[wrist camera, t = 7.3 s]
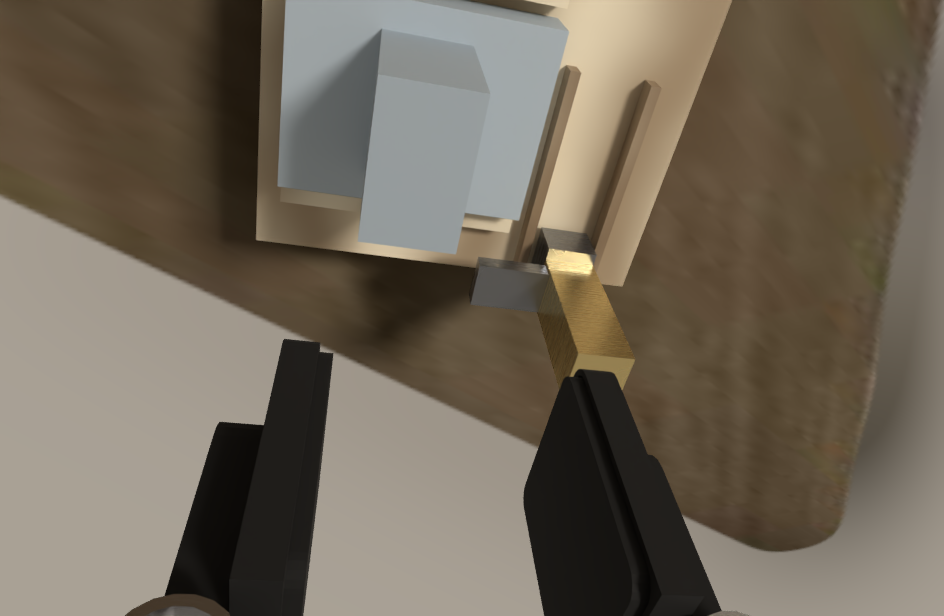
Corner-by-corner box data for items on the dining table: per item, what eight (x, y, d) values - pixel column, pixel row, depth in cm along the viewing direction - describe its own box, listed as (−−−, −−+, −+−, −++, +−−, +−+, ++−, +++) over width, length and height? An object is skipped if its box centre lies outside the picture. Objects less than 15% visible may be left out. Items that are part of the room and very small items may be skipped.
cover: (285, 164, 26) (253, 257, 20) (295, -35, 22) (259, 11, 16) (511, 197, 28) (541, 292, 22) (557, 17, 24) (607, 76, 18)
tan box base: (271, 197, 31) (251, 252, 27) (283, -137, 24) (260, -131, 20) (600, 242, 34) (628, 298, 30) (699, -42, 27) (753, -20, 23)
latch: (462, 279, 29) (479, 402, 23) (476, 218, 28) (498, 332, 21) (567, 292, 30) (611, 413, 24) (586, 233, 29) (640, 348, 22)
